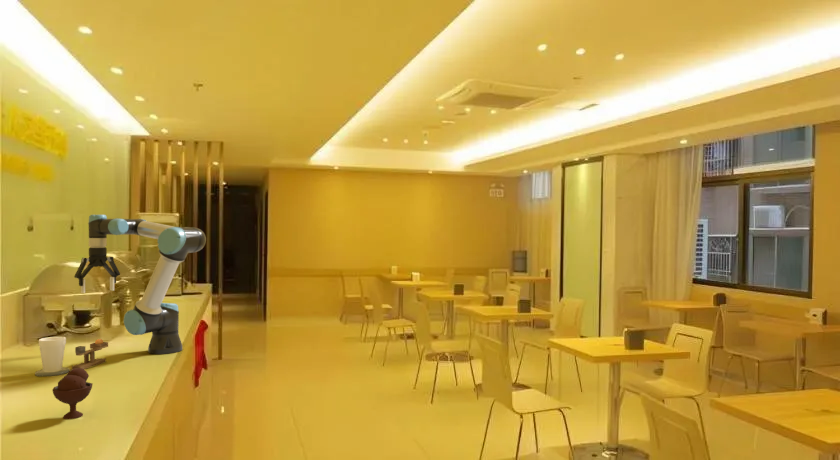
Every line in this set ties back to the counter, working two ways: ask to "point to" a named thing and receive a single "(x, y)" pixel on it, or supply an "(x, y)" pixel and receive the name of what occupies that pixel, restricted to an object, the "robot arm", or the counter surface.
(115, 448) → the counter surface
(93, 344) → the catapult
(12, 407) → the counter surface
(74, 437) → the counter surface
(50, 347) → the foam cup
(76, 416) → the ice cream bowl
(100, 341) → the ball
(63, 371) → the coaster
